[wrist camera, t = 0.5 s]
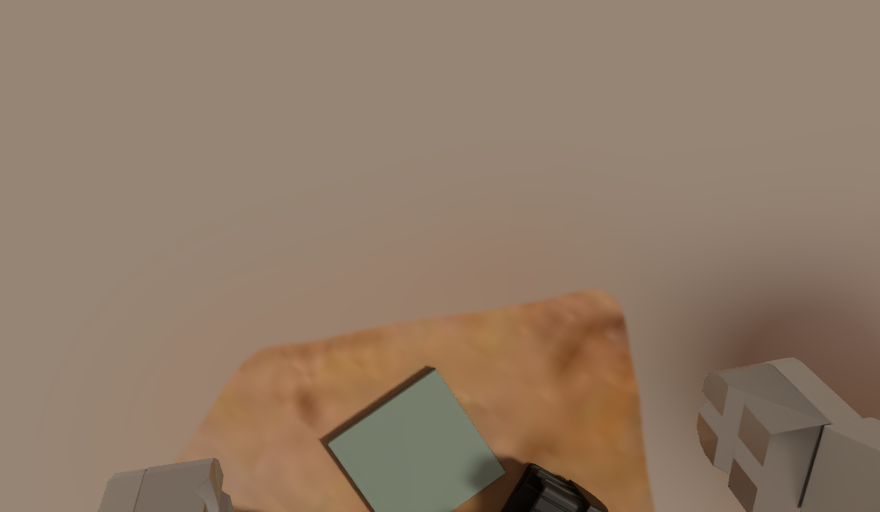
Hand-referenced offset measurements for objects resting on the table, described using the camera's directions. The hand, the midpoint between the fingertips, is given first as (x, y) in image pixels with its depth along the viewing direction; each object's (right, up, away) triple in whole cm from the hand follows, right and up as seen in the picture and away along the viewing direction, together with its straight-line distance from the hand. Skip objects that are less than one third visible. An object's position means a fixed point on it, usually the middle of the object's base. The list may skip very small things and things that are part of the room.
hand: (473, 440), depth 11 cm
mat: (-3, -16, +52) cm, 55 cm away
